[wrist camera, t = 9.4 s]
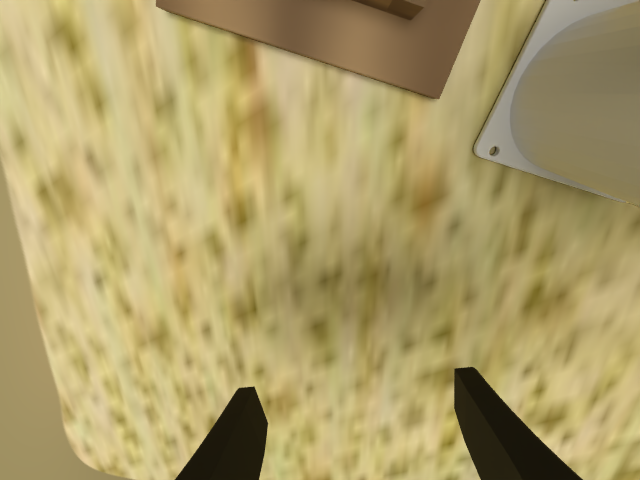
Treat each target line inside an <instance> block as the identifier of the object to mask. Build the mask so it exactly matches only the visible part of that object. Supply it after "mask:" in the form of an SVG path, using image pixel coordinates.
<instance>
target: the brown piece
mask: <svg viewBox="0 0 640 480" xmlns="http://www.w3.org/2000/svg"><path fill="white" fill-rule="evenodd" d="M479 3H480V0H156V7H158V8H161V9H163V10H165V11H168V12H171V13H174V14H177V15H180V16H183V17H186V18H189V19H192V20H195V21H198V22H201V23H204V24H207V25H210V26H213V27H217V28H220V29H223V30H226V31H229V32H232V33H235V34H238V35H241V36H244V37H247V38H250V39H253V40H256V41H259V42H262V43H265V44H268V45H272V46H275V47H278V48H281V49H284V50H287V51H290V52H293V53H296V54H299V55H302V56H305V57H308V58H311V59H314V60H317V61H320V62H324V63H327V64H330V65H333V66H336V67H339V68H342V69H345V70H348V71H351V72H354V73H357V74H360V75H363V76H366V77H369V78H372V79H375V80H379V81H382V82H385V83H388V84H391V85H394V86H397V87H400V88H403V89H406V90H409V91H412V92H415V93H418V94H421V95H424V96H427V97H431V98H434V99H439V98H440V96H441V93H442V91H443V89H444V86H445V84H446V81H447V79H448V77H449V74H450V72H451V70H452V67H453V65H454V62H455V60H456V58H457V55H458V53H459V50H460V48H461V46H462V43H463V41H464V39H465V36H466V34H467V31H468V29H469V27H470V24H471V22H472V19H473V17H474V15H475V12H476V10H477V8H478V5H479Z"/></svg>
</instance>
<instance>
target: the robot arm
mask: <svg viewBox="0 0 640 480" xmlns="http://www.w3.org/2000/svg"><path fill="white" fill-rule="evenodd" d="M494 146H496V152H495V153H494V154H492V155H490V154H489V151H490V149H491V148H492V147H494ZM474 153H475V155H477V156H479V157H481V158H484V159H487V160H490V161H493V162H496V163H499V164H503V165H506V166H509V167H512V168H515V169H518V170H522V171H525V172H528V173H531V174H534V175H537V176H540V177H544V178H547V179H550V180H553V181H556V182H559V183H563V184H566V185H569V186H572V187H575V188H578V189H582V190H585V191H588V192H591V193H594V194H597V195H600V196H604V197H607V198H610V199H613V200H616V201H619V202H628V203H631V204H633V205H636V206H638V207H640V1H639V0H575V1H573V0H546V2H545V4H544V6H543V8H542V10H541V12H540V14H539V16H538V18H537V20H536V22H535V24H534V26H533V28H532V30H531V32H530V34H529V36H528V38H527V40H526V42H525V44H524V46H523V48H522V50H521V52H520V54H519V56H518V58H517V60H516V62H515V64H514V66H513V69H512V71H511V73H510V75H509V77H508V79H507V81H506V83H505V85H504V87H503V89H502V91H501V93H500V95H499V97H498V99H497V101H496V103H495V105H494V107H493V109H492V111H491V113H490V115H489V117H488V119H487V121H486V123H485V125H484V127H483V129H482V131H481V133H480V135H479V137H478V139H477V141H476V143H475V145H474ZM454 409H455V412H456V415H457V419H458V422H459V425H460V428H461V431H462V434H463V438H464V441H465V443H466V446H467V448H468V450H469V453H470V455H471V458H472V460H473V462H474V465H475V467H476V469H477V472H478V474H479V477H480V479H481V480H583V479H581V478H580V477H579V476H578V475H577V474H576V473H575V472H574V471H573V470H572V469H570V468H569V467H568V466H567V465H566V464H565V463H564V462H563V461H562V460H561V459H560V458H559V457H558V456H557V455H555V454H554V453H553V452H552V451H551V450H550V449H549V448H548V447H547V446H546V445H545V444H544V443H543V442H542V441H541V440H540V439H539V438H538V437H537V436H536V435H535V434H534V433H533V432H532V431H531V430H530V429H529V428H528V427H527V426H526V425H525V424H524V423H523V422H522V421H521V419H520V418H519V417H518V416H517V415H516V414H515V413H514V412H513V411H512V410H511V409H510V408H509V407H508V406H507V405H506V403H505V402H504V401H503V400H502V399H501V398H500V397H499V396H498V395H497V393H496V392H495V391H494V390H493V389H492V388H491V387H490V385H489V384H488V383H487V382H486V381H485V379H484V378H483V377H482V376H481V375H480V373H479V372H478V371H477V370H476V369H475V368H474V367H467V368H456V369H455V380H454ZM267 427H268V422H267V419H266V416H265V414H264V411H263V408H262V406H261V403H260V400H259V398H258V395H257V392H256V390H255V387H245V388H238V390H237V391H236V392H235V394H234V396H233V397H232V399H231V400H230V402H229V403H228V405H227V406H226V408H225V409H224V411H223V412H222V414H221V416H220V417H219V419H218V420H217V422H216V423H215V425H214V426H213V428H212V429H211V431H210V432H209V433H208V435H207V436H206V438H205V439H204V441H203V442H202V444H201V445H200V446H199V448H198V449H197V451H196V452H195V454H194V455H193V456H192V458H191V459H190V460H189V462H188V463H187V464H186V466H185V467H184V468H183V470H182V471H181V472H180V474H179V475H178V476H177V478H176V479H175V480H259V476H260V472H261V467H262V463H263V458H264V453H265V445H266V436H267Z"/></svg>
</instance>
